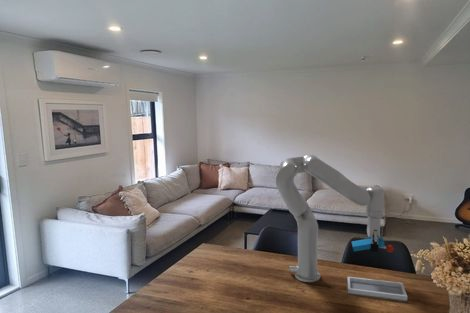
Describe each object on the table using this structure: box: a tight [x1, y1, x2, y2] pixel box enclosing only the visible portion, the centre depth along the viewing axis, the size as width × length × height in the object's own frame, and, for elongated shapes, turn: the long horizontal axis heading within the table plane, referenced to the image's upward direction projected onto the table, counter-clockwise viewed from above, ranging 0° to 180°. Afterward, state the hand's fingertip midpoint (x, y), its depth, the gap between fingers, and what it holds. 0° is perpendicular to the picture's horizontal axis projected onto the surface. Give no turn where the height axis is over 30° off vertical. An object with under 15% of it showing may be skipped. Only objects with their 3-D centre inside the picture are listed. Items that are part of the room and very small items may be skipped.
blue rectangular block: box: [351, 235, 394, 253], centre depth 160 cm, size 7×7×18 cm
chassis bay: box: [347, 276, 408, 303], centre depth 151 cm, size 24×12×2 cm, turn 73°
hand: (373, 248), depth 160 cm, fingers closed on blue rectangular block, 7 cm apart
